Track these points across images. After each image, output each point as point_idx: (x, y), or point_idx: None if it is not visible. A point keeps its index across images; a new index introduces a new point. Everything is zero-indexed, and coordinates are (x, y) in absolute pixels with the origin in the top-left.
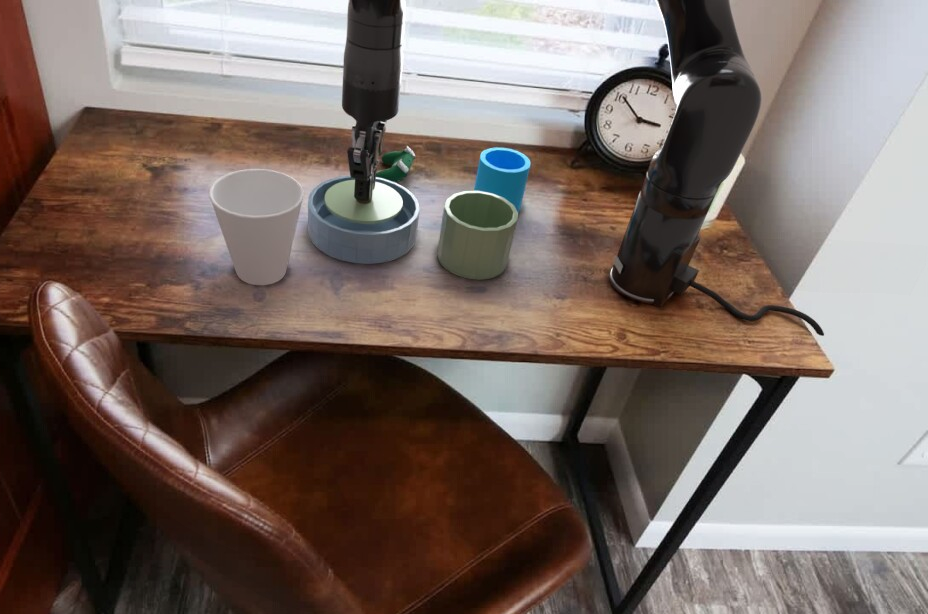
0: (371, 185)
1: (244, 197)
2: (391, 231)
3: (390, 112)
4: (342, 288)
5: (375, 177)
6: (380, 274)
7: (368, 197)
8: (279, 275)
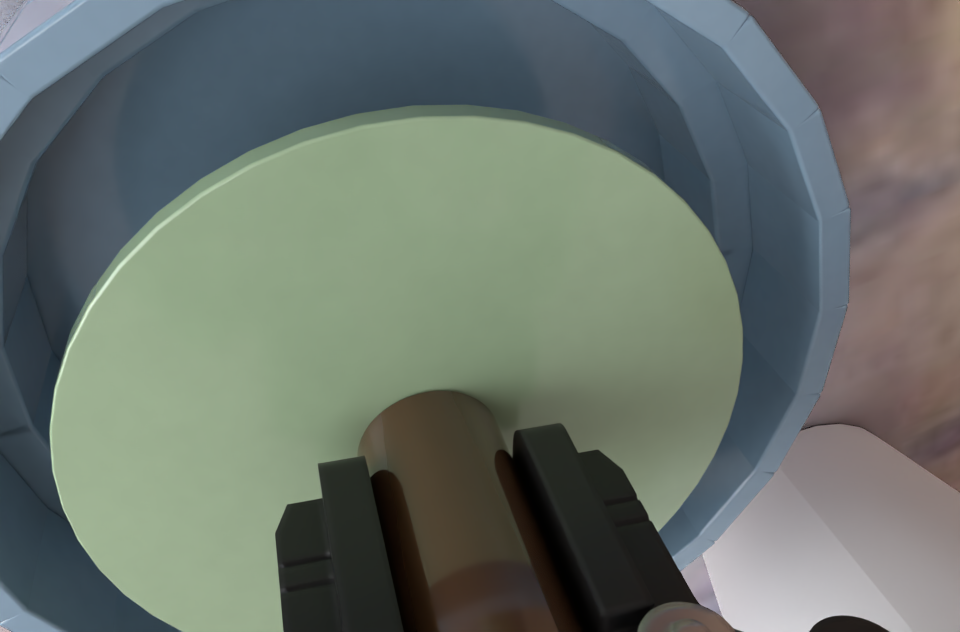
0: (511, 518)
1: None
2: (798, 86)
3: None
4: (904, 173)
5: (351, 554)
6: (767, 12)
7: (568, 444)
8: (884, 444)
